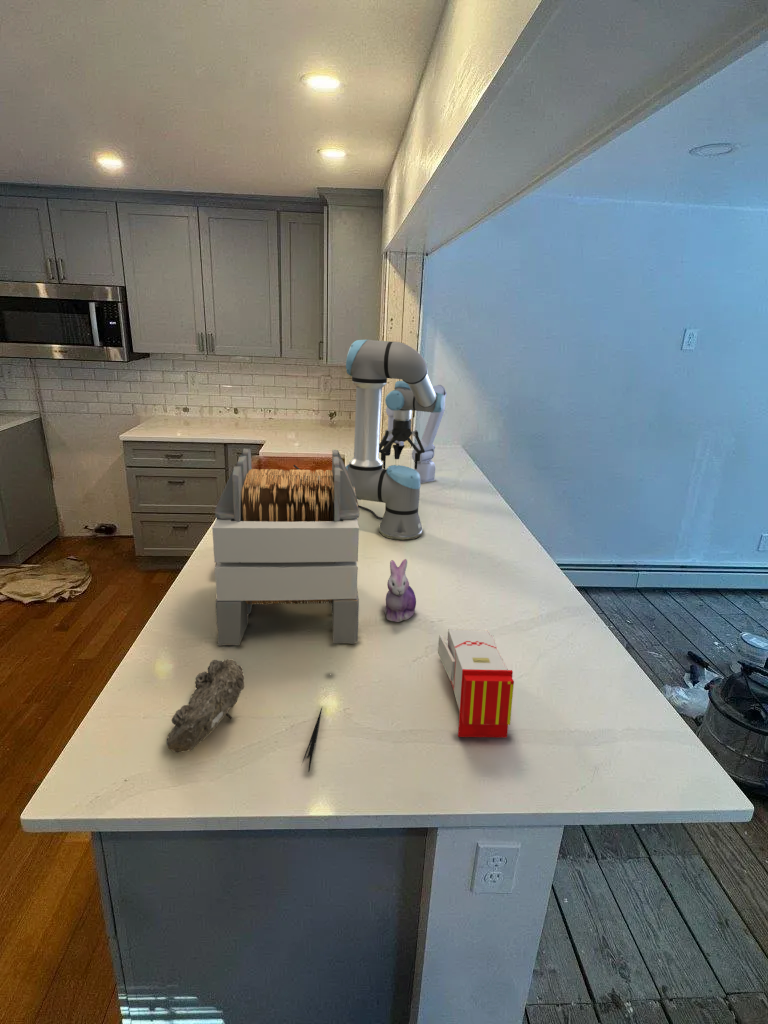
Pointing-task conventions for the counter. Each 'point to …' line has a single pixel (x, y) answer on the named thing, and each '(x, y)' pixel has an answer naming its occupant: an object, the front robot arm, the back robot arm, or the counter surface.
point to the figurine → (399, 594)
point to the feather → (313, 740)
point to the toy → (478, 682)
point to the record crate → (286, 545)
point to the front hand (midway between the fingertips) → (399, 468)
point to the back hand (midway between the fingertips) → (392, 457)
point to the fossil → (206, 705)
